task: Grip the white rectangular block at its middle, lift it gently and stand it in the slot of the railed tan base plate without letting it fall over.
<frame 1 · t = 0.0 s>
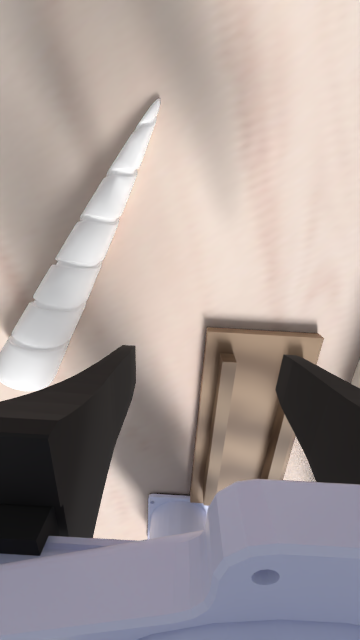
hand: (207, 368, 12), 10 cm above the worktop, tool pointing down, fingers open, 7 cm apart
unicorn horn: (81, 262, 21), on the worktop
railed tan base plate: (244, 425, 26), on the worktop
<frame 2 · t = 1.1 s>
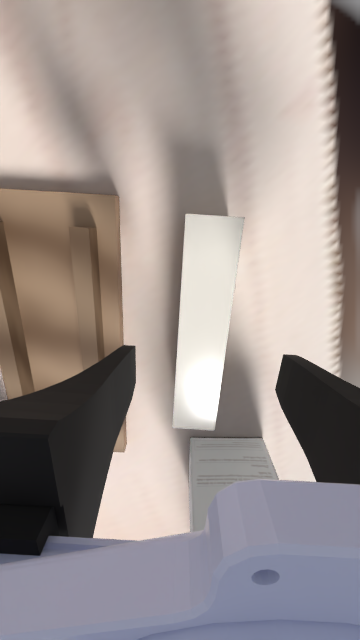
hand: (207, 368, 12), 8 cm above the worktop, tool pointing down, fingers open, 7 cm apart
white rectangular block: (198, 312, 20), on the worktop
supplement box: (224, 461, 25), on the worktop
railed tan base plate: (63, 340, 21), on the worktop
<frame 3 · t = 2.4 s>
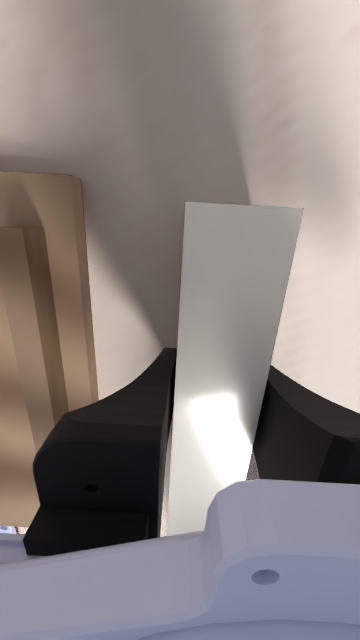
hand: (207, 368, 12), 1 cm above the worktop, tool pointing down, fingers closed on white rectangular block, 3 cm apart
white rectangular block: (204, 353, 13), on the worktop, touching gripper
railed tan base plate: (12, 388, 14), on the worktop
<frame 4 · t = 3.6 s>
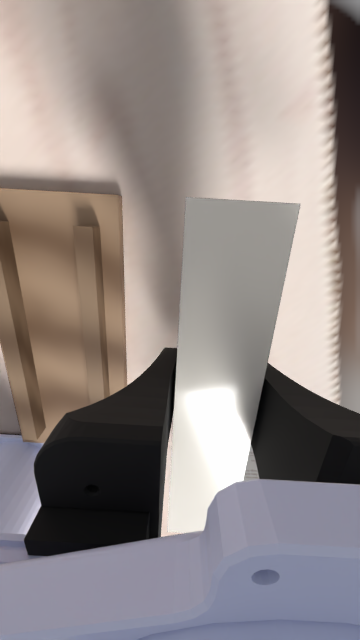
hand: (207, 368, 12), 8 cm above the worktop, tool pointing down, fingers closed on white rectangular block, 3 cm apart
white rectangular block: (204, 349, 14), point 7 cm above the worktop, touching gripper
supplement box: (225, 457, 26), on the worktop
railed tan base plate: (66, 337, 21), on the worktop
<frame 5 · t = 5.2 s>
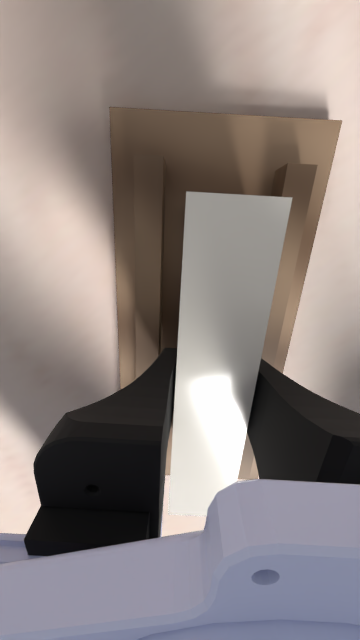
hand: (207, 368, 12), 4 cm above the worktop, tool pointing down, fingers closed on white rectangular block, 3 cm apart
white rectangular block: (204, 340, 14), point 1 cm above the worktop, touching gripper
railed tan base plate: (202, 336, 15), on the worktop
when the fingers open (3 cm above the worktop, at t = 6.0 s): white rectangular block stays where it is, resting on railed tan base plate.
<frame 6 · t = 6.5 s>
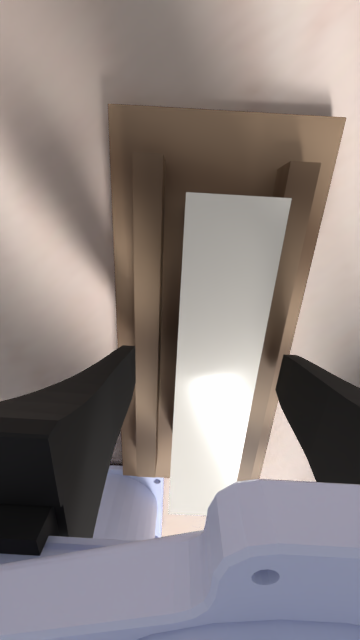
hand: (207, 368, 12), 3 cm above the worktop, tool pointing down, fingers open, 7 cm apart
white rectangular block: (204, 340, 14), point 1 cm above the worktop, touching railed tan base plate
railed tan base plate: (202, 338, 15), on the worktop
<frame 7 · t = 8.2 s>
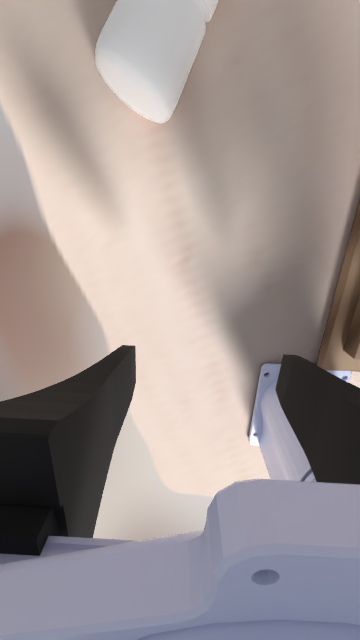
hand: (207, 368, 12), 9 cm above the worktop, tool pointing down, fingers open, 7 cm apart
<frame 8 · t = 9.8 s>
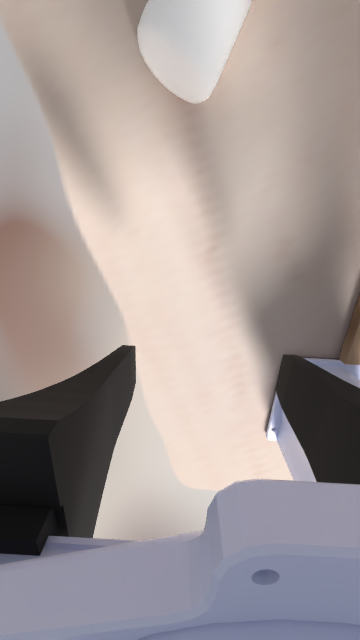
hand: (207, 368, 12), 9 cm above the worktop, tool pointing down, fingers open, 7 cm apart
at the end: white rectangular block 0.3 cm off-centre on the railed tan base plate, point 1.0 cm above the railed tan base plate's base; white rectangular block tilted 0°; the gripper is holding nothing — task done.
